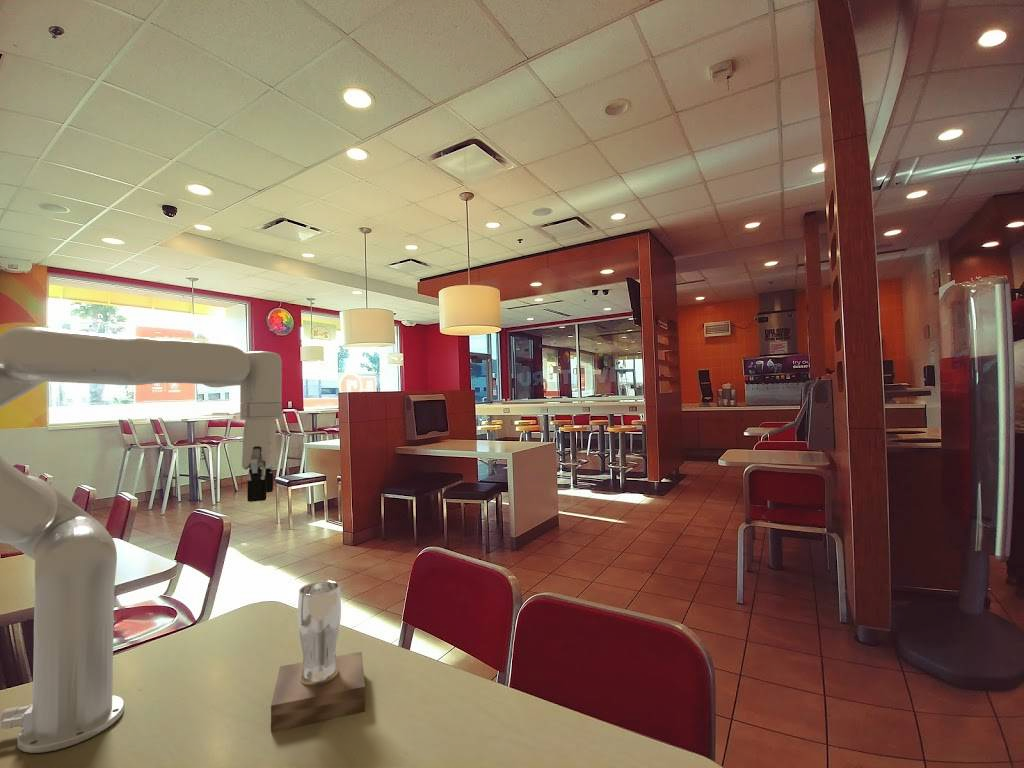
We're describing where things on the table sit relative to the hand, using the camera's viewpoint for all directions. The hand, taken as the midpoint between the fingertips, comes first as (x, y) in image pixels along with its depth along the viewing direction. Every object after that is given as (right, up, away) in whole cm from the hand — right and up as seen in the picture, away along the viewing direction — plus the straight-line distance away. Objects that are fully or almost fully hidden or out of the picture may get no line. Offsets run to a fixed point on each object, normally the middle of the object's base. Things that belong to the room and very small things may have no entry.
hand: (260, 496), depth 98 cm
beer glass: (+18, -28, -15) cm, 36 cm away
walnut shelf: (+18, -32, -15) cm, 39 cm away
